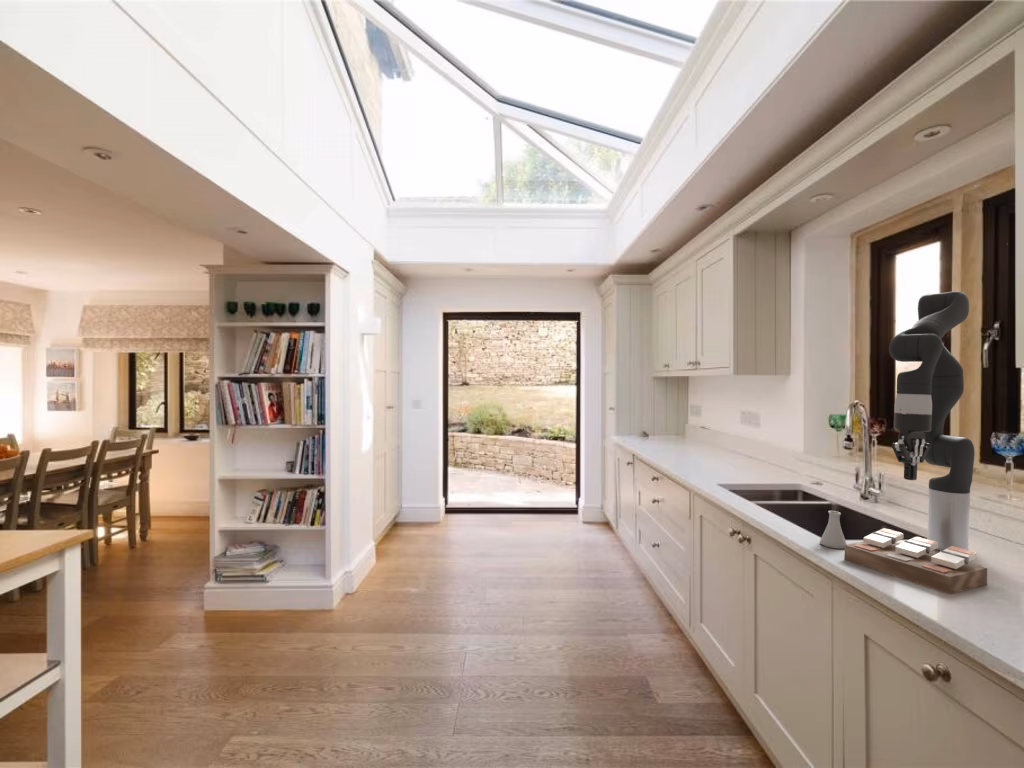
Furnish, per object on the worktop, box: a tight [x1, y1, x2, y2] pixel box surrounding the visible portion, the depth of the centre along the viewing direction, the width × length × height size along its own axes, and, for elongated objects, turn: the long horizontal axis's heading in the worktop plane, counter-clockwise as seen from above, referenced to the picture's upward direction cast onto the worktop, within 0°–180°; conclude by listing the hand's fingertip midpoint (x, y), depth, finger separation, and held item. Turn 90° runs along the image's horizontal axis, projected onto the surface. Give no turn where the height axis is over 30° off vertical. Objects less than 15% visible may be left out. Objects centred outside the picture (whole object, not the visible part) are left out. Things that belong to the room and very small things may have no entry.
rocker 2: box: [895, 536, 938, 558], centre depth 131 cm, size 9×5×2 cm, turn 114°
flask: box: [819, 510, 848, 550], centre depth 150 cm, size 7×7×10 cm
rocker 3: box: [931, 546, 977, 569], centre depth 123 cm, size 9×5×2 cm, turn 114°
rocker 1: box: [863, 527, 904, 548], centre depth 138 cm, size 9×5×2 cm, turn 114°
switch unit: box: [844, 541, 988, 595], centre depth 130 cm, size 16×24×4 cm, turn 24°
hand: (910, 479), depth 129 cm, fingers closed
